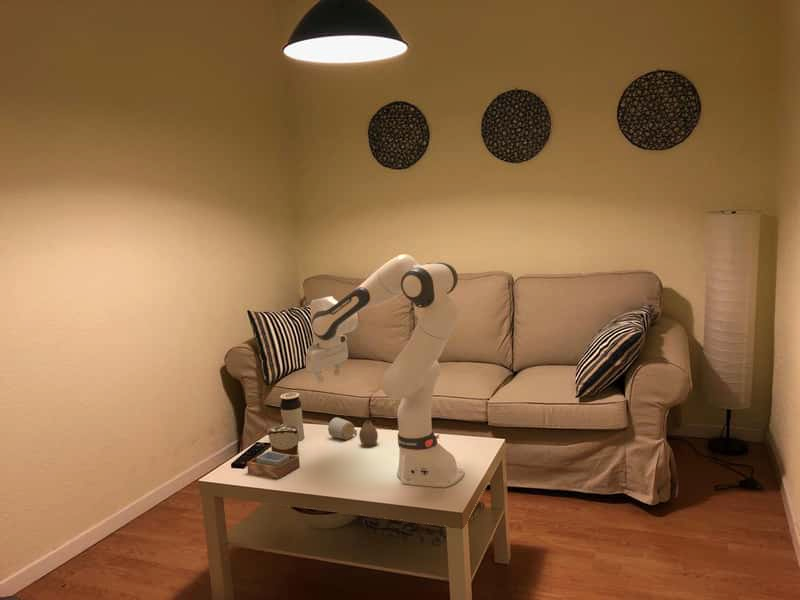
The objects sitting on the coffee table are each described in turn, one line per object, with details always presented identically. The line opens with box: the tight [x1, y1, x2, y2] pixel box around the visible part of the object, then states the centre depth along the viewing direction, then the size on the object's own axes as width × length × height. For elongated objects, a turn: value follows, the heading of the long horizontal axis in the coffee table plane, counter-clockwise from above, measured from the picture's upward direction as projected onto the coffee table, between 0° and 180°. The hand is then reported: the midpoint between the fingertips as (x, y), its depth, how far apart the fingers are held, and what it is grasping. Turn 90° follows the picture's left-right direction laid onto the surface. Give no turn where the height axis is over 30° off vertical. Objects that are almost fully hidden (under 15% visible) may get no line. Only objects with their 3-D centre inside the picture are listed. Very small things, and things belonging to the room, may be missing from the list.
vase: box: [358, 421, 379, 448], centre depth 259 cm, size 7×7×9 cm
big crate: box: [246, 450, 301, 480], centre depth 242 cm, size 14×12×4 cm
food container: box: [266, 424, 300, 456], centre depth 258 cm, size 12×6×10 cm, turn 84°
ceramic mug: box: [327, 417, 358, 441], centre depth 270 cm, size 11×8×8 cm
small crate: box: [255, 450, 290, 467], centre depth 242 cm, size 10×6×4 cm, turn 58°
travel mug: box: [279, 392, 305, 442], centre depth 271 cm, size 8×8×18 cm
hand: (329, 378), depth 246 cm, fingers open, 8 cm apart
